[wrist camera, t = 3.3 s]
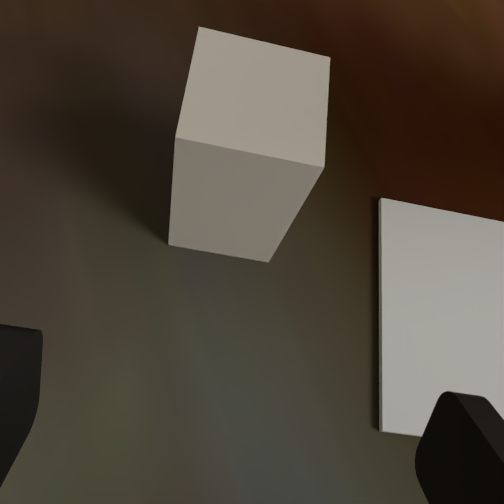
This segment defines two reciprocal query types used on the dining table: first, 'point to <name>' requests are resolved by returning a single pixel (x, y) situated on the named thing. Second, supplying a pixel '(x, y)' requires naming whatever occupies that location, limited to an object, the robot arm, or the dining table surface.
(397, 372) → the mat
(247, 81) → the beige block
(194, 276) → the dining table surface
